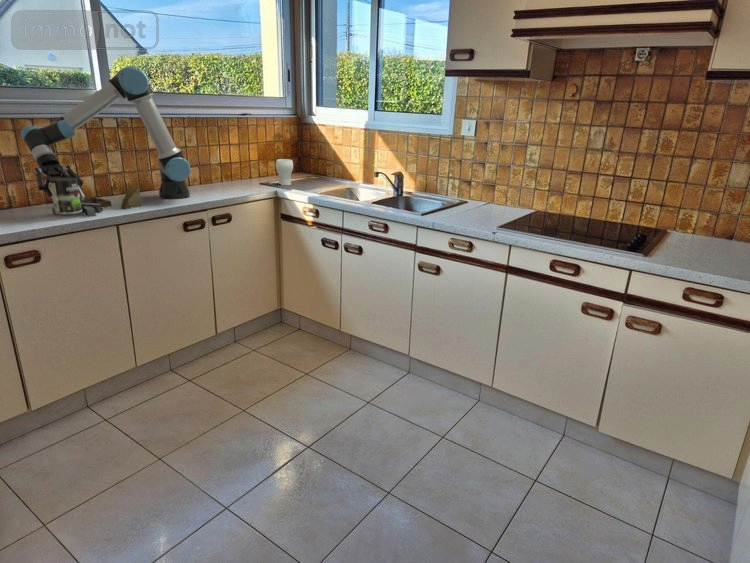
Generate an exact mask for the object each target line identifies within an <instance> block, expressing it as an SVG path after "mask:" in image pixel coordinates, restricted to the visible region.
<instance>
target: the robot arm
mask: <svg viewBox="0 0 750 563" xmlns="http://www.w3.org/2000/svg"><path fill="white" fill-rule="evenodd" d="M153 95H154V92H153V89H152V87H151V85H150V83H149V78H148V75H147V74H146V72H145V71H143V69H141V68H140V67H137V66H133V65H129V66H125V67H123V68H121V69H120V70H119V71H118V72H117V73H116V74H115V75H113V77H111V79H108V81H107V84H106V85H105V86H103V87H102V88H101V89H99V90H97V91H96V92H94V93H93V94H91V95H90V96H89V97H87V98H86V99H84V100H82V102H80V103H79V104H77V105H75V106H74V107H72V108H71V109H70V110H68V111H67V112H65V113H64V114H63V115H61V116H60V117H58V118H57V119H55V120H53V121H52V122H50V123H49V124H48V125H46V126H44V127H40V128H39V127H38V126H36V125H27V126H24V127H23V128H22V129H21V132H20V135H21V137H22V139H23V142H24V143H25V144H26V146H27V148H28V150H29V151H30V153H31V155H32V156H33V158H34V160H35V161H36V163H37V165H38V167H39V168H38V167H35V168H34V171H33V173H34V175H35V176H36V183H37V188H38V190H39V191H43V193H46V195H47V196H48V197H51V200H52V202H53V201H54V203H55V204H57V202H58V198H57V196H56V195H55V193H54V191H53V190H52V188H51V187H49V186H50V182H49V179H51V178H58V177H74V178H77V182H78V188H79V194H80V199H81V200H84V199H85V198H86V196H85V194H84V193H83V192H84V189H83V188H82V187H83V184H84V181H83V179H82V178H81V177H80V176H79V175H77V174H76V173H75V171H74V170H72V168H71V166H70V165H66V166H62V165H61V164H60V162H59V160H58V158H57V157H56V155H55V153H54V150H53V149H52V148H51V146H53V145H54V144H56V143H60V142H63V141H64V140H65V141H66V140H67V139H70V138H72V137H74V136H76V134H77V133H76V130H77V129H78V128H80V127H82V126H83V125H84V124H86V123H87V122H89V121H90V120H92V119H93V118H94V117H96V116H97V115H99V114H100V113H101V112H103V111H105V110H106V109H107V108H109V107H110V106H112V105H113V104H115V103H116V102H117V101H119V100H124V99H127V101H128V102H129V103H131V104H133V105H134V107H135V109H136V111H137V113H138V115H139V117H140V119H141V121H142V123H143V125H144V127H145V129H146V130H147V133H148V134H149V137H150V138H151V141H152V142H153V145H154V147H155V148H156V151H157V152H158V157H157V159H158V163H159V165H158V166H159V173H160V181H161V182H160V187H159V191H158V197H159V198H160V199H167V200H175V199H176V200H177V199H185V198H186V199H187V198H189V197H190V196H191V192H190V190H189V187H188V185H187V183H186V179H188V178H189V177H190V176H191V170H192V169H191V165H190V163H189V162H188V160H187V159H186V157H185V155H184V153H183V151H182V149H181V148H178V147H177V145H176V144H175V142H174V140H173V138H172V136H171V133H170V132H169V130H168V127H167V125H166V124H165V121H164V120H163V118H162V116H161V113H160V112H159V109H158V107H157V105H156V104H155V101H154V99H153V97H154V96H153ZM42 174H45V175H46V177H45V183H44V185H43V177H42ZM54 203H53V204H54Z"/></svg>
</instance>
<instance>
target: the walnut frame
mask: <svg viewBox="0 0 750 563" xmlns="http://www.w3.org/2000/svg"><path fill="white" fill-rule="evenodd" d="M80 200H81V198H80ZM81 203H95V204H102V207H103V208H109V207H108V206H110V207H112V201H111V200H108V199H105V198H100V197H97V196H93V197H84V200H81Z"/></svg>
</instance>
